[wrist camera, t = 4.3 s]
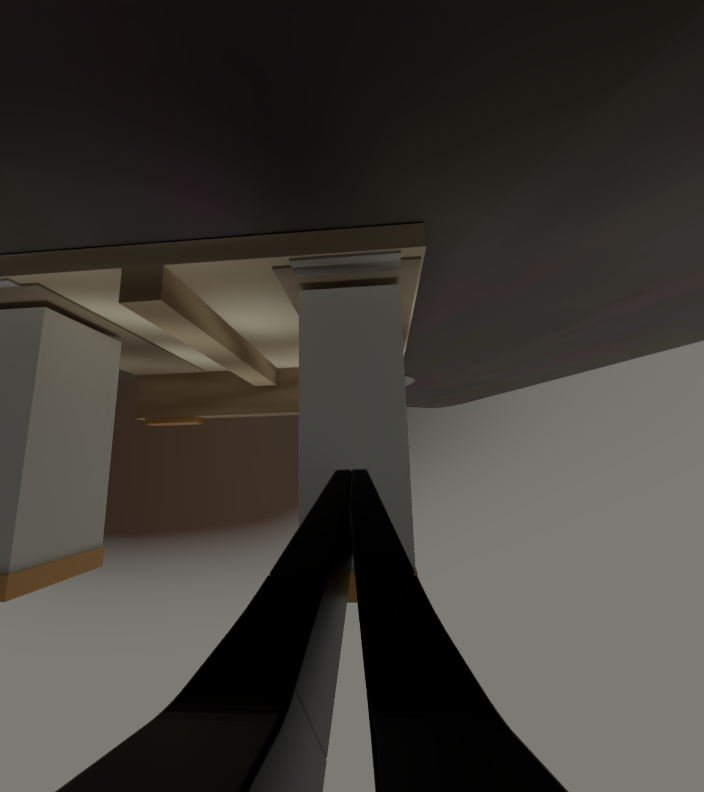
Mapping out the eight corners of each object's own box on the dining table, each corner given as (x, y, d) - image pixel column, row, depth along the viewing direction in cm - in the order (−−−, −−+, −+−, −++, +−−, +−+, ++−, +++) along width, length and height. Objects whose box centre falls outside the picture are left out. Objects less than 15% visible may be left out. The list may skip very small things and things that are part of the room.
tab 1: (-45, 312, 14) (-99, 601, 12) (45, 306, 13) (4, 601, 12) (53, 346, 18) (24, 566, 16) (123, 342, 17) (102, 566, 16)
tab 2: (297, 290, 13) (296, 602, 11) (401, 283, 12) (418, 602, 11) (317, 331, 17) (319, 564, 15) (396, 327, 16) (408, 564, 15)
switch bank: (-106, 262, 12) (-133, 382, 12) (424, 222, 11) (434, 354, 10) (150, 367, 26) (145, 426, 25) (401, 355, 25) (404, 416, 24)
